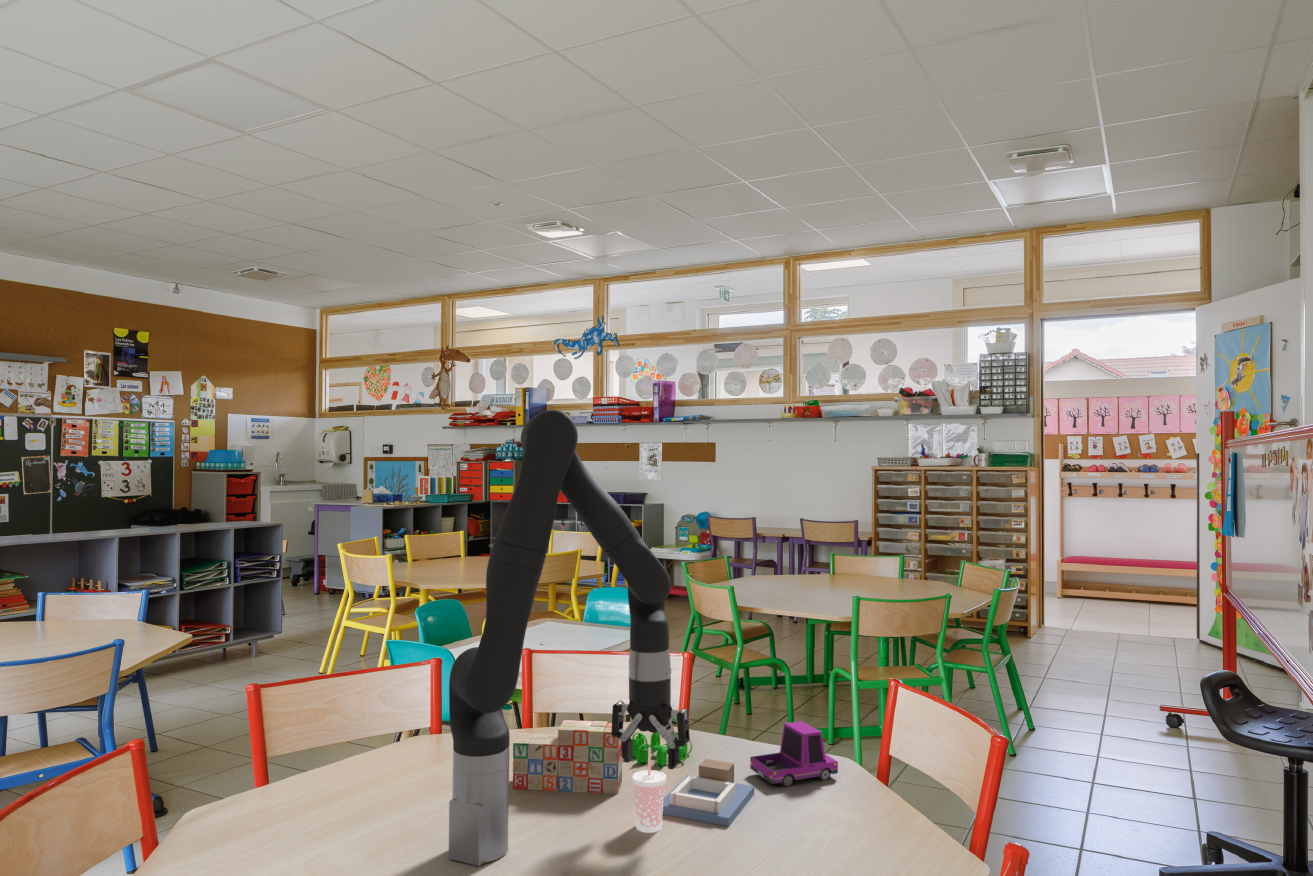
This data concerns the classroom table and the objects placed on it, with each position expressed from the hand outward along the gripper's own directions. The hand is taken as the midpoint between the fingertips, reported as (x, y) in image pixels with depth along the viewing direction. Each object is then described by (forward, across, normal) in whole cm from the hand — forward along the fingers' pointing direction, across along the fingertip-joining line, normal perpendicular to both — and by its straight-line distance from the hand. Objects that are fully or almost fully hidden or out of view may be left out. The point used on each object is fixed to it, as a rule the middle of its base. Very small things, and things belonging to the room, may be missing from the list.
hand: (650, 764), depth 150 cm
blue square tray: (+11, +6, +13) cm, 18 cm away
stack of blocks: (+11, -22, +10) cm, 27 cm away
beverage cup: (+11, 0, -1) cm, 11 cm away
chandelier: (+12, -12, +33) cm, 37 cm away
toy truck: (+12, +18, +33) cm, 40 cm away
